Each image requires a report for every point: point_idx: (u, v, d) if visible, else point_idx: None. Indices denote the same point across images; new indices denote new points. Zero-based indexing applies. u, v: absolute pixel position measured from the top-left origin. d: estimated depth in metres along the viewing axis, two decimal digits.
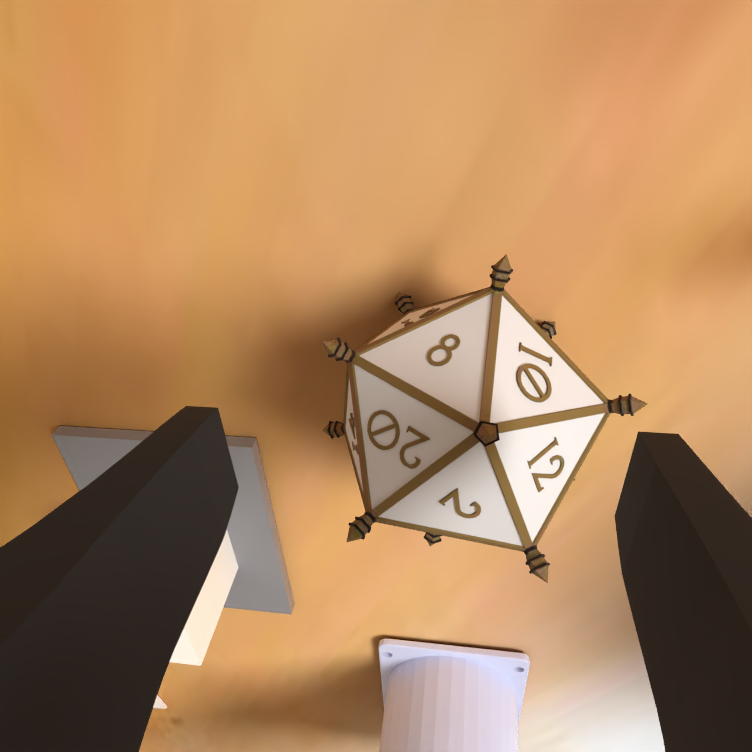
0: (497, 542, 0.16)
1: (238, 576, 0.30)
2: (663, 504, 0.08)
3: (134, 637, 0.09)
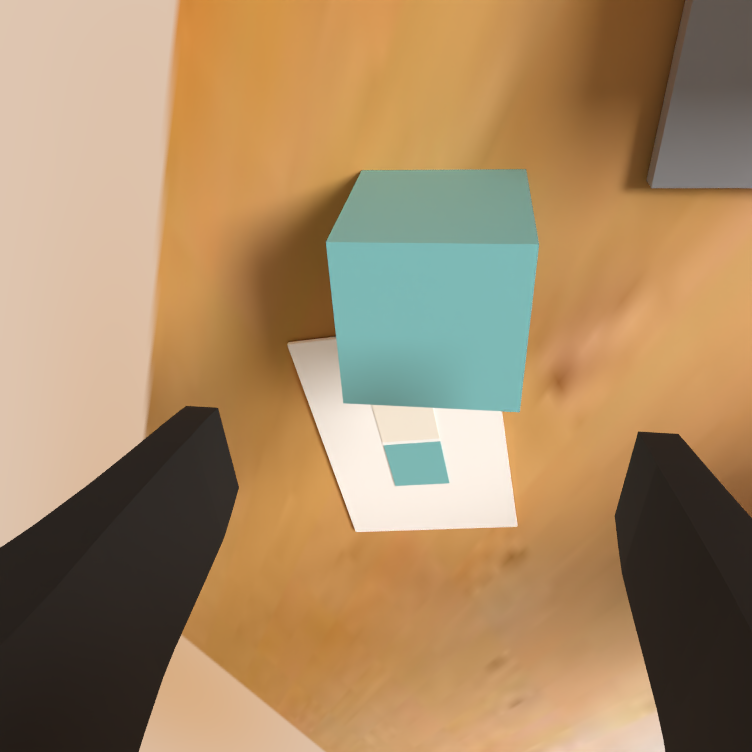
0: None
1: None
2: (663, 504, 0.08)
3: (134, 637, 0.09)
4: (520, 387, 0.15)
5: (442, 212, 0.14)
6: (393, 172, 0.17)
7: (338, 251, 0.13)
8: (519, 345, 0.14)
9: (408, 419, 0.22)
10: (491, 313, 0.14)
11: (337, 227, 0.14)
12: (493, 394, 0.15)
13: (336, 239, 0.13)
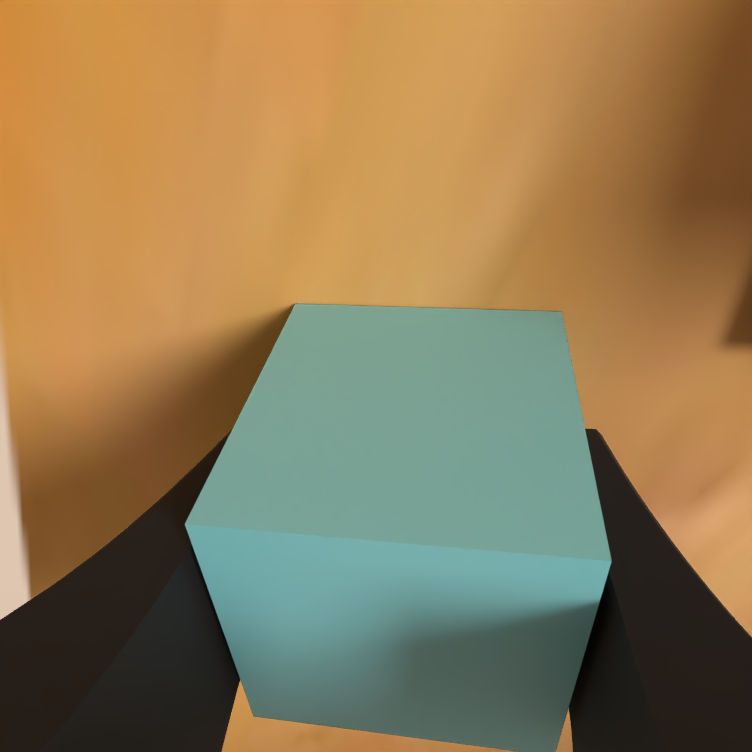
0: None
1: None
2: None
3: (216, 646, 0.08)
4: (558, 731, 0.08)
5: (418, 433, 0.08)
6: (345, 311, 0.10)
7: (211, 539, 0.07)
8: (560, 686, 0.08)
9: None
10: (510, 642, 0.07)
11: (219, 471, 0.07)
12: (509, 734, 0.09)
13: (207, 516, 0.07)
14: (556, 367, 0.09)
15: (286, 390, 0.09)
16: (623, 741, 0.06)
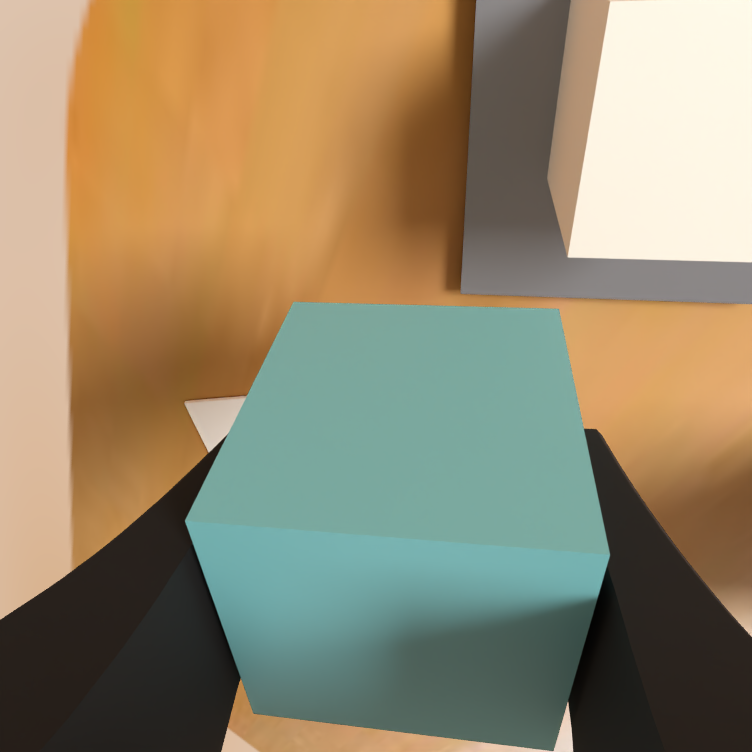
0: None
1: None
2: None
3: (216, 647, 0.08)
4: (557, 726, 0.08)
5: (416, 430, 0.08)
6: (343, 309, 0.10)
7: (211, 536, 0.07)
8: (559, 680, 0.08)
9: None
10: (509, 637, 0.07)
11: (218, 468, 0.07)
12: (509, 729, 0.09)
13: (207, 512, 0.07)
14: (554, 364, 0.09)
15: (285, 388, 0.09)
16: (623, 741, 0.06)
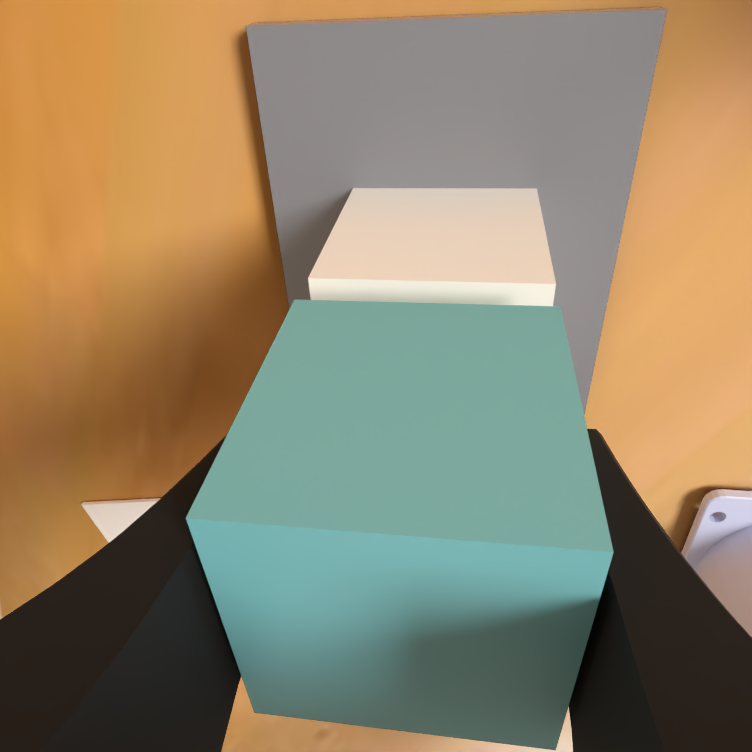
0: None
1: None
2: None
3: (216, 646, 0.08)
4: (559, 725, 0.08)
5: (419, 427, 0.08)
6: (344, 307, 0.10)
7: (212, 533, 0.07)
8: (561, 679, 0.08)
9: None
10: (512, 635, 0.07)
11: (219, 466, 0.07)
12: (510, 727, 0.09)
13: (208, 509, 0.07)
14: (556, 361, 0.09)
15: (286, 385, 0.09)
16: (623, 741, 0.06)
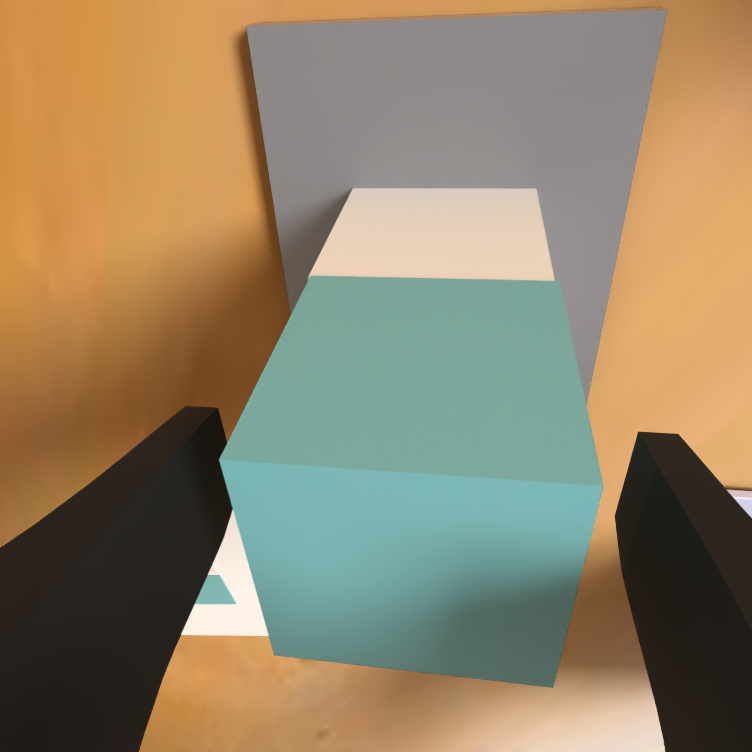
0: None
1: None
2: (663, 504, 0.08)
3: (134, 637, 0.09)
4: (556, 661, 0.09)
5: (428, 384, 0.09)
6: (358, 282, 0.11)
7: (242, 474, 0.08)
8: (558, 614, 0.08)
9: None
10: (513, 570, 0.08)
11: (247, 417, 0.08)
12: (512, 665, 0.09)
13: (239, 452, 0.08)
14: (554, 328, 0.10)
15: (305, 349, 0.09)
16: None
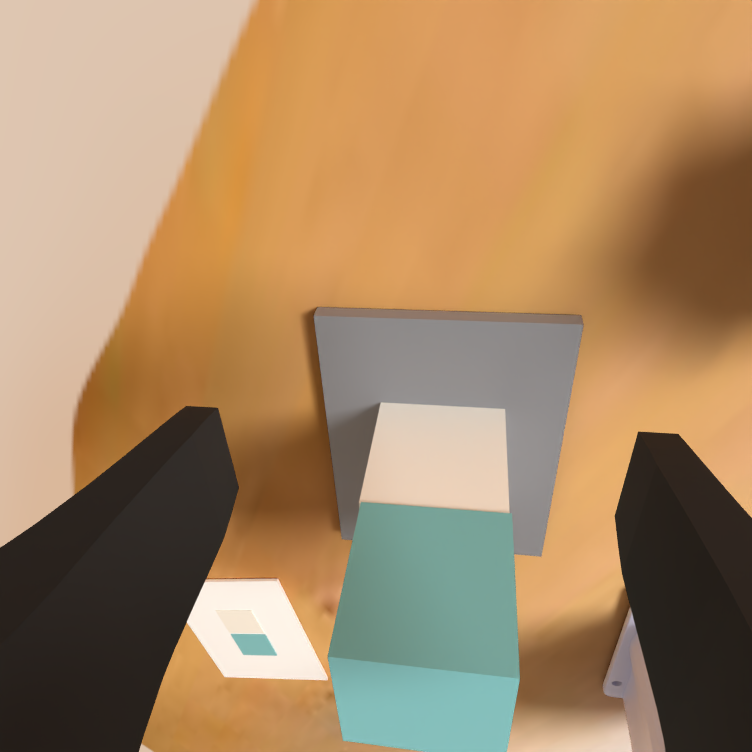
0: None
1: None
2: (663, 504, 0.08)
3: (134, 637, 0.09)
4: (505, 750, 0.16)
5: (434, 603, 0.16)
6: (390, 509, 0.18)
7: (339, 663, 0.15)
8: (503, 728, 0.16)
9: (242, 622, 0.34)
10: (478, 708, 0.15)
11: (338, 625, 0.15)
12: (480, 751, 0.17)
13: (337, 652, 0.15)
14: (505, 557, 0.17)
15: (364, 571, 0.17)
16: None
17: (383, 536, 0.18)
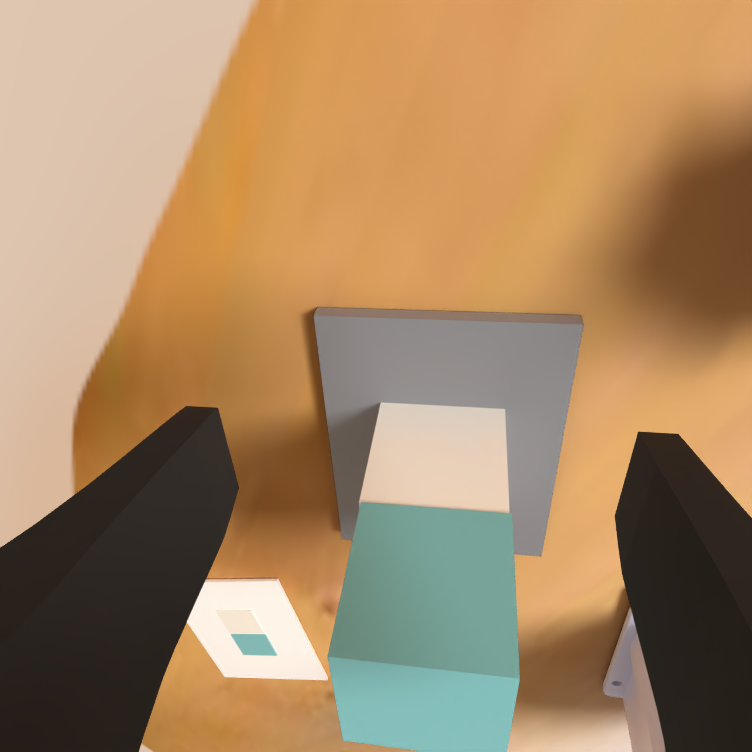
0: None
1: None
2: (663, 504, 0.08)
3: (134, 637, 0.09)
4: (505, 750, 0.16)
5: (434, 603, 0.16)
6: (390, 509, 0.18)
7: (339, 663, 0.15)
8: (503, 728, 0.16)
9: (242, 622, 0.34)
10: (478, 708, 0.15)
11: (338, 625, 0.15)
12: (480, 751, 0.17)
13: (337, 652, 0.15)
14: (505, 557, 0.17)
15: (364, 571, 0.17)
16: None
17: (383, 536, 0.18)
